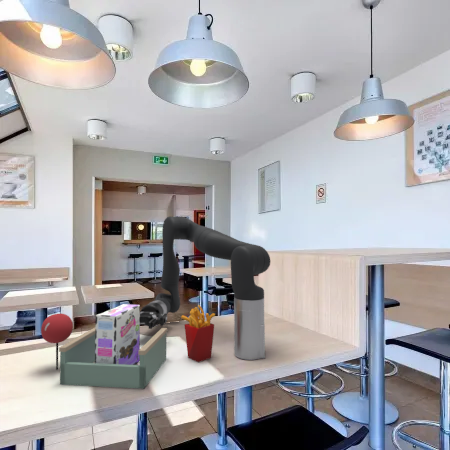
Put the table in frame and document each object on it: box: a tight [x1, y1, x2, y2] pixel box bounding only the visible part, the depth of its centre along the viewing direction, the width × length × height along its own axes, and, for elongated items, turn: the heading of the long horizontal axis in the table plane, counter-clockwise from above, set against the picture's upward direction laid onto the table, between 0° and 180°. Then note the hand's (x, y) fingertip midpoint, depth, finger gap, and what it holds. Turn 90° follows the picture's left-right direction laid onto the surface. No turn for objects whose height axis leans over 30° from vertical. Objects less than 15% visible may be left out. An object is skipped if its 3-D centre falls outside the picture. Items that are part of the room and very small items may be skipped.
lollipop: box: [40, 313, 74, 370], centre depth 86 cm, size 8×8×15 cm
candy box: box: [94, 303, 141, 365], centre depth 85 cm, size 14×6×16 cm, turn 168°
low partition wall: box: [58, 326, 168, 390], centre depth 85 cm, size 22×18×9 cm
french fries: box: [180, 304, 216, 363], centre depth 94 cm, size 9×8×15 cm
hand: (136, 325), depth 98 cm, fingers open, 8 cm apart
